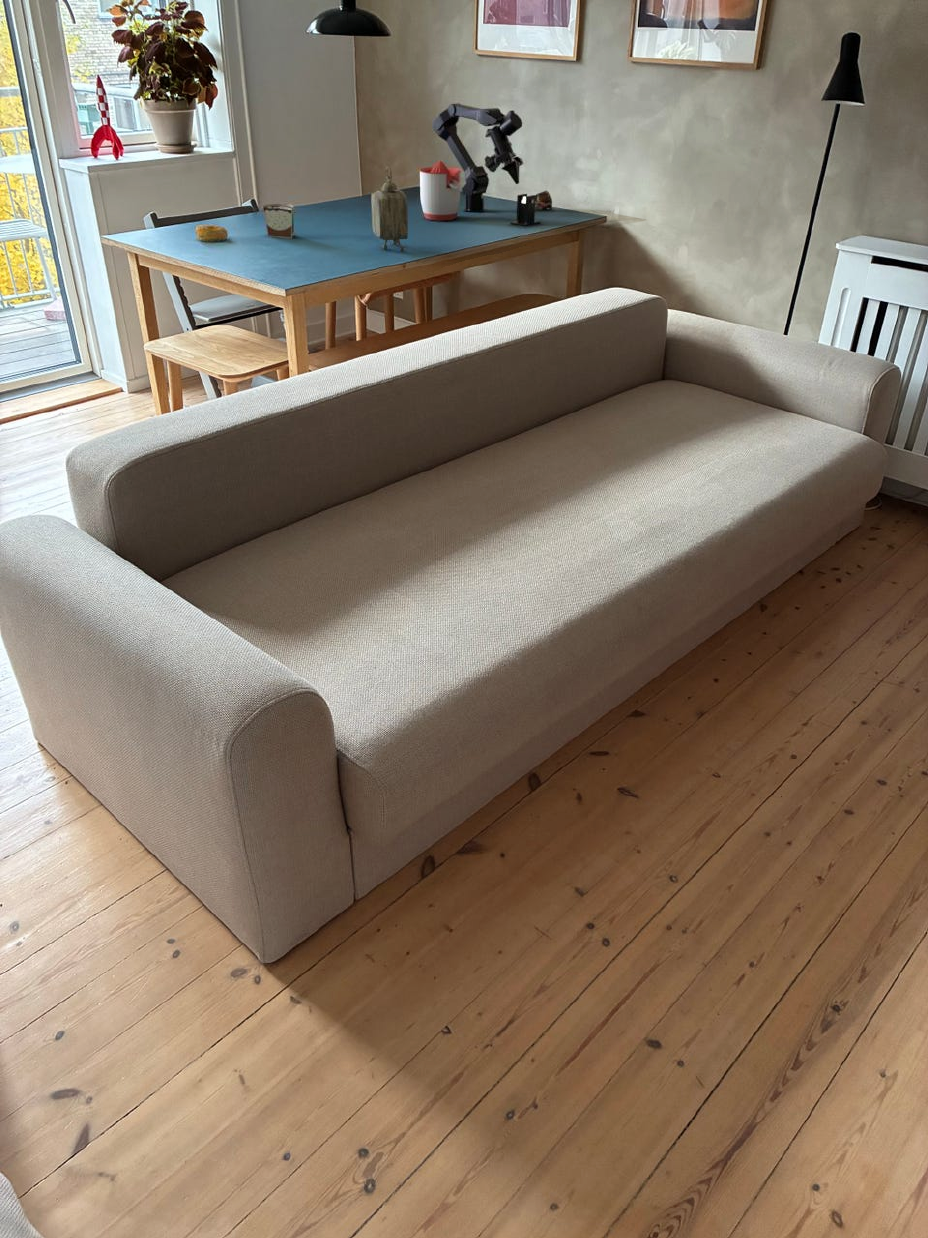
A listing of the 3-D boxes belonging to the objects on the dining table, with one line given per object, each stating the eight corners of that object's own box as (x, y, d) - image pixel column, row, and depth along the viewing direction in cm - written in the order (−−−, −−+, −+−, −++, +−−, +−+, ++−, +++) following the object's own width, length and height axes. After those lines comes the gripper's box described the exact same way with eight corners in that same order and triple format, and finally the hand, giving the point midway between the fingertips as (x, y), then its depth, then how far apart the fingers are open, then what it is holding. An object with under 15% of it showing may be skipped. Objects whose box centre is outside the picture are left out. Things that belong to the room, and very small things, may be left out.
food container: (303, 235, 334) (301, 204, 328) (295, 238, 329) (293, 207, 324) (272, 232, 337) (269, 202, 332) (264, 235, 332) (261, 205, 327)
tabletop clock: (408, 252, 311) (406, 169, 297) (381, 254, 309) (378, 170, 295) (398, 243, 323) (396, 163, 309) (372, 245, 321) (368, 164, 307)
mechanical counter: (555, 198, 368) (554, 187, 375) (522, 194, 367) (522, 184, 374) (552, 216, 373) (551, 206, 380) (519, 213, 372) (519, 202, 379)
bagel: (218, 243, 322) (216, 228, 319) (190, 240, 325) (188, 225, 322) (234, 237, 330) (232, 223, 327) (207, 235, 333) (205, 220, 330)
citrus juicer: (440, 224, 350) (440, 165, 339) (411, 217, 361) (410, 160, 350) (472, 219, 359) (473, 161, 348) (442, 212, 370) (442, 156, 359)
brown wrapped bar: (534, 206, 354) (535, 199, 354) (544, 208, 352) (546, 201, 351) (518, 202, 347) (519, 195, 346) (528, 204, 344) (529, 196, 343)
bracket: (525, 222, 356) (526, 192, 350) (540, 224, 352) (541, 194, 346) (510, 225, 350) (511, 195, 344) (524, 228, 346) (526, 197, 340)
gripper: (490, 156, 365) (505, 196, 367) (475, 149, 348) (491, 191, 350) (515, 142, 360) (531, 182, 363) (501, 134, 343) (518, 176, 346)
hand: (517, 183), depth 355 cm, fingers closed
